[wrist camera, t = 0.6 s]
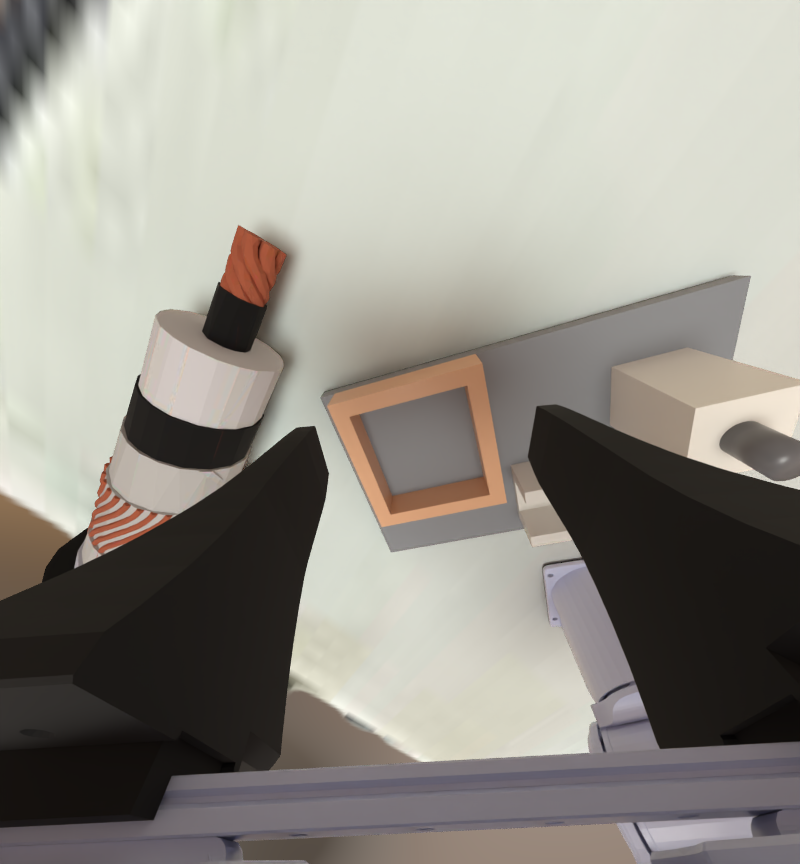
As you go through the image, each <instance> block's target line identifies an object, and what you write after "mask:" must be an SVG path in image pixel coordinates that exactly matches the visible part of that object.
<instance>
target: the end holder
mask: <svg viewBox="0 0 800 864" xmlns="http://www.w3.org/2000/svg"><path fill="white" fill-rule="evenodd" d="M464 386H465V391H466V396H467V400H468V405H469V410H470V414H471V419H472V424H473V429H474V433H475V438H476V443H477V447H478V452H479V457H480V462H481V466H482V471H483V476H484V477H480V478H475V479H470V480H465V481H461V482H456V483H451V484H447V485H442V486H437V487H432V488H428V489H423V490H418V491H413V492H409V493H404V494H399V495H395V496H392V494H391V492H390V489H389V487H388V484H387V482H386V479H385V477H384V474H383V472H382V469H381V467H380V464H379V462H378V460H377V457H376V455H375V452H374V450H373V447H372V445H371V442H370V440H369V437H368V435H367V432H366V430H365V427H364V425H363V422H362V420H361V417H360V415H359V414H362V413H366V412H370V411H373V410H377V409H381V408H385V407H388V406H392V405H396V404H400V403H403V402H407V401H411V400H415V399H418V398H422V397H426V396H430V395H433V394H437V393H441V392H445V391H449V390H452V389H456V388H460V387H464ZM327 408H328V410H329V412H330V414H331V416H332V419H333V421H334V423H335V425H336V427H337V430H338V432H339V434H340V436H341V438H342V441H343V443H344V445H345V447H346V450H347V452H348V454H349V456H350V458H351V461H352V463H353V465H354V467H355V469H356V472H357V474H358V476H359V478H360V480H361V483H362V485H363V487H364V489H365V492H366V494H367V496H368V498H369V500H370V503H371V505H372V507H373V509H374V511H375V514H376V516H377V518H378V520H379V522H380V525H381V527H386V526H391V525H396V524H401V523H406V522H411V521H416V520H422V519H427V518H432V517H437V516H442V515H447V514H452V513H458V512H463V511H468V510H473V509H478V508H483V507H489V506H494V505H499V504H504V503H507V500H506V494H505V489H504V483H503V477H502V472H501V466H500V460H499V455H498V449H497V443H496V438H495V432H494V426H493V421H492V415H491V409H490V404H489V398H488V392H487V387H486V381H485V375H484V370H483V364H482V362H481V361H480V359H479V358H478V357H477V355H476V354H473V355H470V356H466V357H462V358H459V359H455V360H452V361H448V362H445V363H441V364H438V365H434V366H431V367H427V368H424V369H420V370H416V371H413V372H409V373H406V374H402V375H399V376H395V377H392V378H388V379H385V380H381V381H378V382H374V383H370V384H367V385H363V386H360V387H356V388H353V389H349V390H346V391H342V392H339V393H335V394H334V396H333V397H332V399H331V400H330V402H329V404H328V405H327Z"/></svg>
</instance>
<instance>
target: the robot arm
mask: <svg viewBox="0 0 800 864" xmlns="http://www.w3.org/2000/svg"><path fill="white" fill-rule="evenodd" d="M528 459H529V462H530V464H531V467H532V469H533V472H534V474H535V476H536V478H537V481H538V483H539V485H540V486H541V488H542V490H543V491H544V493H545V495H546V497H547V498H548V500H549V502H550V503H551V505H552V507H553V508H554V510H555V512H556V513H557V515H558V516H559V518H560V520H561V521H562V523H563V525H564V526H565V528H566V530H567V531H568V533H569V535H570V536H571V538H572V540H573V541H574V543H575V545H576V547H577V549H578V550H579V552H580V554H581V556H582V558H583V560H578V561H571V562H565V563H558V564H552V565H547V566H545V567H544V568H543V575H544V584H545V592H546V600H547V609H548V617H549V623H550V625H551V626H552V627H560V626H562V629H563V631H564V634H565V636H566V638H567V641H568V643H569V646H570V648H571V651H572V653H573V655H574V658H575V660H576V663H577V665H578V667H579V670H580V672H581V675H582V677H583V679H584V682H585V684H586V687H587V689H588V691H589V693H590V695H591V696H592V698H593V699H594V701H595V702H596V704H592V705H591V708H592V710H593V713H594V715H595V718H596V720H597V721H596V722H592V723H591V724H590V726H589V735H588V747H589V752H590V753H581V754H563V755H545V756H526V757H508V758H490V759H472V760H453V761H435V762H417V763H399V764H382V765H381V764H380V765H362V766H344V767H326V768H308V769H289V770H271V771H269V769H270V768H271V767H272V766H273V765H274V764H275V762H276V761H277V759H278V758H279V757H280V755H281V743H282V733H283V724H284V715H285V706H286V697H287V687H288V680H289V672H290V665H291V657H292V649H293V642H294V636H295V629H296V623H297V616H298V610H299V604H300V598H301V593H302V587H303V581H304V576H305V572H306V567H307V563H308V559H309V556H310V552H311V549H312V545H313V542H314V538H315V535H316V531H317V528H318V524H319V521H320V517H321V514H322V510H323V506H324V503H325V498H326V492H327V484H328V476H329V473H328V469H327V466H326V462H325V459H324V455H323V452H322V449H321V445H320V442H319V438H318V435H317V431H316V428H315V426H310V427H299V428H296V429H294V430H293V431H291V432H290V433H289V434H287V435H286V436H285V437H284V438H282V439H281V440H280V441H279V442H278V443H276V444H275V445H274V446H273V447H272V448H270V449H269V450H268V451H267V452H265V453H264V454H263V455H262V456H261V457H259V458H258V459H257V460H256V461H254V462H253V463H252V464H251V465H249V466H248V467H247V468H245V469H244V470H243V471H241V472H240V473H239V474H237V475H236V476H235V477H234V478H232V479H231V480H230V481H228V482H227V483H226V484H224V485H223V486H221V487H220V488H219V489H217V490H216V491H214V492H213V493H211V494H210V495H208V496H207V497H205V498H204V499H202V500H201V501H199V502H197V503H196V504H194V505H193V506H191V507H190V508H188V509H186V510H185V511H183V512H182V513H180V514H178V515H176V516H175V517H173V518H171V519H169V520H167V521H166V522H164V523H162V524H160V525H159V526H157V527H155V528H153V529H152V530H150V531H148V532H146V533H144V534H143V535H141V536H139V537H137V538H135V539H133V540H131V541H129V542H128V543H126V544H124V545H122V546H120V547H118V548H116V549H114V550H112V551H110V552H108V553H106V554H104V555H102V556H99V557H97V558H95V559H93V560H91V561H89V562H87V563H85V564H83V565H81V566H79V567H76V568H74V569H72V570H70V571H68V572H66V573H63V574H61V575H59V576H57V577H54V578H52V579H50V580H47V581H45V582H43V583H40V584H38V585H36V586H33V587H31V588H29V589H26V590H24V591H22V592H20V593H17V594H15V595H13V596H10V597H8V598H6V599H4V600H1V601H0V864H308V863H307V862H306V861H305V860H290V861H289V860H285V861H282V860H278V861H277V860H275V861H273V860H269V861H243V853H242V849H241V847H240V845H239V843H238V842H235V841H253V840H275V839H295V838H317V837H337V836H358V835H380V834H401V833H421V832H443V831H464V830H484V829H485V830H486V829H507V828H527V827H548V826H569V825H591V824H609V823H610V824H612V823H616V824H617V826H618V828H619V830H620V832H621V834H622V836H623V837H624V839H625V841H626V843H627V845H628V846H629V848H630V850H631V851H632V854H633V856H634V858H635V860H636V863H637V864H800V490H798V489H794V488H789V487H785V486H782V485H778V484H774V483H771V482H767V481H763V480H760V479H756V478H752V477H749V476H745V475H741V474H738V473H734V472H731V471H728V470H724V469H721V468H718V467H715V466H712V465H709V464H706V463H703V462H699V461H696V460H693V459H690V458H687V457H684V456H681V455H679V454H676V453H673V452H670V451H668V450H665V449H662V448H660V447H657V446H655V445H652V444H650V443H647V442H645V441H642V440H640V439H637V438H635V437H632V436H630V435H628V434H625V433H623V432H621V431H618V430H616V429H614V428H611V427H609V426H607V425H605V424H602V423H600V422H598V421H596V420H594V419H591V418H589V417H587V416H585V415H582V414H580V413H578V412H575V411H573V410H571V409H568V408H566V407H563V406H560V405H557V404H553V405H542V406H536V412H535V418H534V423H533V429H532V435H531V440H530V446H529V451H528Z"/></svg>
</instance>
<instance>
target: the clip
mask: <svg viewBox="0 0 800 864" xmlns="http://www.w3.org/2000/svg"><path fill="white" fill-rule="evenodd" d="M511 469H512V476H513V482H514V489H515V495H516V501H517V508H518V514H519V518H520V520H521V522H522V525H523V527H524V529H525V532H526V534H527V536H528V539H529V541H530V543H531V546H532V547H536V546H542V545H548V544H554V543H560V542H566V541H572V538H571V536H570V535H569V533H568V531H567V530H566V528H565V526H564V525H563V523H562V521H561V520H560V518H559V516H558V515H557V513H556V512H555V510H554V508H553V507H552V505H551V503H550V502H549V500H548V498H547V497H546V495H545V493H544V491H543V490H542V488H541V486H540V485H539V483H538V481H537V478H536V476H535V474H534V472H533V469H532V467H531V464H530V462H529V461H528V462H523V463H519V464H514V465H511Z"/></svg>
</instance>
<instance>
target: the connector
mask: <svg viewBox="0 0 800 864" xmlns="http://www.w3.org/2000/svg"><path fill="white" fill-rule="evenodd" d="M799 414H800V380H799V379H795V378H792V377H788V376H785V375H782V374H778V373H775V372H771V371H768V370H764V369H761V368H757V367H754V366H750V365H747V364H743V363H740V362H736V361H733V360H729V359H726V358H722V357H719V356H715V355H712V354H708V353H705V352H702V351H698V350H695V349H691V348H688V347H687V348H683V349H679V350H676V351H672V352H668V353H664V354H660V355H656V356H652V357H648V358H644V359H640V360H636V361H632V362H629V363H625V364H621V365H617V366H613V367H612V368H611V404H610V425H611V426H612V427H613V428H614V429H616V430H618V431H621V432H623V433H625V434H628V435H630V436H632V437H635V438H637V439H640V440H642V441H645V442H647V443H650V444H652V445H655V446H657V447H660V448H662V449H665V450H668V451H670V452H673V453H676V454H679V455H681V456H684V457H687V458H690V459H693V460H696V461H699V462H703V463H706V464H709V465H712V466H715V467H718V468H721V469H724V470H728V471H731V472H734V473H738V472H743V471H749V470H756V471H758V472H759V473H761V474H763V475H764V476H766V477H768V478H770V479H771V480H774V481H786V480H790V479H793V478H796V477H798V476H800V441H798V440H796V439H794V438H791V437H792V434H793V431H794V428H795V426H796V423H797V420H798V417H799Z"/></svg>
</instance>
